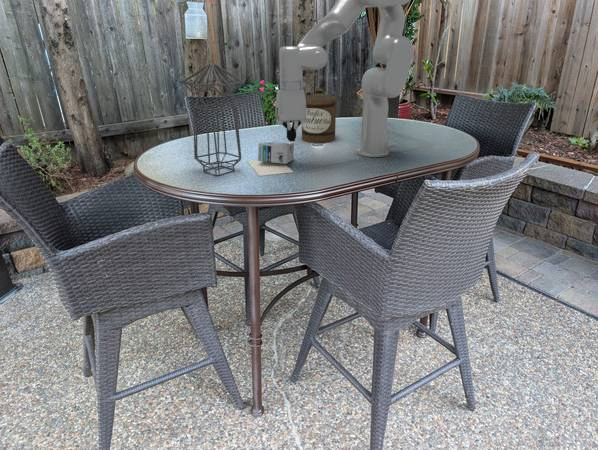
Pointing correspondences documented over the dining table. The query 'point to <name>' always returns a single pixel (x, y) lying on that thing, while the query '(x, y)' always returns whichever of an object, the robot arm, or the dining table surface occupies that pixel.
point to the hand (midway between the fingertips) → (291, 140)
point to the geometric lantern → (219, 73)
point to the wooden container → (319, 118)
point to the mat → (269, 168)
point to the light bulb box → (276, 152)
